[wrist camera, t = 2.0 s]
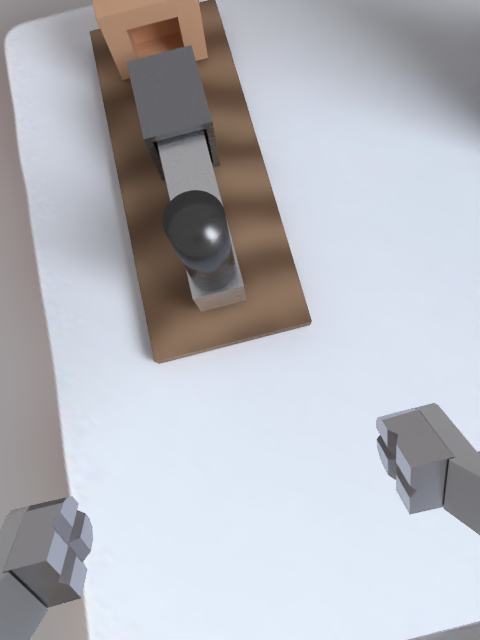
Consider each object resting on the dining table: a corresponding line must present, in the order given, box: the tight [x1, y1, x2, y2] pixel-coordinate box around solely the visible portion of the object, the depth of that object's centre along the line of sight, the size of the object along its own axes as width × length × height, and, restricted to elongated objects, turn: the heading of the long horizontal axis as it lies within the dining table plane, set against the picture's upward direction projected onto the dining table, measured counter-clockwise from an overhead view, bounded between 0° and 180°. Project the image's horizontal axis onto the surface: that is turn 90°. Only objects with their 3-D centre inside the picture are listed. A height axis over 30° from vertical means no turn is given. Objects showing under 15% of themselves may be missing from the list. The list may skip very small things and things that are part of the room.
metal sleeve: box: [127, 45, 220, 181], centre depth 35 cm, size 8×6×6 cm
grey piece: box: [157, 129, 246, 312], centre depth 30 cm, size 21×4×12 cm, turn 14°
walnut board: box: [90, 0, 312, 364], centre depth 38 cm, size 37×14×2 cm, turn 14°
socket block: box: [92, 0, 208, 80], centre depth 37 cm, size 6×9×7 cm, turn 104°
